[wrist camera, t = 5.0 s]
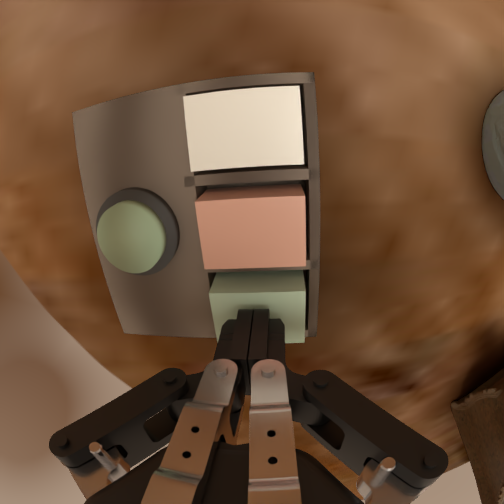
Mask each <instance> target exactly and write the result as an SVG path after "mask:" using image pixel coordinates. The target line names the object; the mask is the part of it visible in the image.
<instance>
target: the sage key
mask: <svg viewBox="0 0 504 504" xmlns="http://www.w3.org/2000/svg"><path fill="white" fill-rule="evenodd" d="M209 298H210V304H211V310H212V315H213V321H214V326H215V332H216V337H217V342H218V340H219V336H220V332H221V328H222V325H223V324H224V323H225V322H226V321H227V320H228V319H236V318H237V313H238V309H269V310H270V319H277V318H280V319H281V320H282V322H283V323H284V325H285V343H304V340H305V306H306V289H305V282H304V275H303V270H277V271H245V272H217V273H216V275H215V278H214V281H213V283H212V286H211V289H210V291H209Z"/></svg>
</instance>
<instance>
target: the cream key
mask: <svg viewBox="0 0 504 504" xmlns="http://www.w3.org/2000/svg"><path fill="white" fill-rule="evenodd" d="M183 102H184V112H185V123H186V133H187V142H188V151H189V160H190V169H191V172H194V171H204V170H215V169H227V168H240V167H255V166H274V165H300V164H304V150H303V131H302V115H301V100H300V87H299V86H278V87H260V88H247V89H236V90H227V91H218V92H210V93H203V94H196V95H190V96H184V97H183Z"/></svg>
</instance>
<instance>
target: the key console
mask: <svg viewBox="0 0 504 504" xmlns="http://www.w3.org/2000/svg"><path fill="white" fill-rule="evenodd" d="M278 86H299V87H300V100H301V115H302V131H303V150H304V164H300V165H274V166H255V167H240V168H227V169H215V170H204V171H194V172H191V169H190V160H189V151H188V142H187V133H186V123H185V112H184V102H183V97H184V96H190V95H196V94H203V93H210V92H218V91H227V90H236V89H247V88H260V87H278ZM72 114H73V124H74V133H75V141H76V149H77V156H78V162H79V168H80V174H81V180H82V186H83V191H84V196H85V201H86V205H87V210H88V215H89V219H90V223H91V228H92V232H93V236H94V240H95V243H96V247H97V251H98V255H99V258H100V262H101V265H102V269H103V272H104V275H105V279H106V282H107V285H108V288H109V291H110V294H111V297H112V300H113V303H114V306H115V309H116V312H117V315H118V318H119V320H120V323H121V326H122V328H123V331H124V333H129V334H142V335H156V336H175V337H200V338H217V337H216V332H215V326H214V321H213V315H212V310H211V304H210V298H209V291H210V289H211V286H212V283H213V281H214V278H215V275H216V273H217V272H245V271H277V270H303V275H304V282H305V289H306V306H305V337H313V336H316V335H317V318H318V298H319V269H320V168H319V141H318V121H317V104H316V90H315V78H314V72H301V73H272V74H256V75H244V76H234V77H225V78H217V79H209V80H202V81H196V82H190V83H184V84H178V85H173V86H168V87H163V88H158V89H153V90H149V91H145V92H140V93H136V94H132V95H128V96H124V97H121V98H117V99H113V100H110V101H106V102H103V103H100V104H97V105H93V106H90V107H87V108H84V109H81V110H78V111H75V112H72ZM288 184H301V186H302V189H303V191H304V194H305V209H306V266H299V267H271V268H239V269H204V262H203V256H202V249H201V243H200V236H199V229H198V222H197V215H196V208H195V201H196V200H197V199H198V198H199V197H200V196H201V195H202V194H203V193H204V192H205V191H206V190H207V189H217V188H231V187H247V186H265V185H288Z"/></svg>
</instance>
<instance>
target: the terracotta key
mask: <svg viewBox="0 0 504 504" xmlns="http://www.w3.org/2000/svg"><path fill="white" fill-rule="evenodd" d="M195 208H196V215H197V222H198V229H199V236H200V243H201V249H202V256H203V262H204V269H239V268H271V267H299V266H306V209H305V194H304V191H303V189H302V186H301V184H288V185H265V186H247V187H231V188H217V189H207V190H206V191H205V192H204V193H203V194H202V195H201V196H200V197H199V198H198V199H197V200H196V201H195Z"/></svg>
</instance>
